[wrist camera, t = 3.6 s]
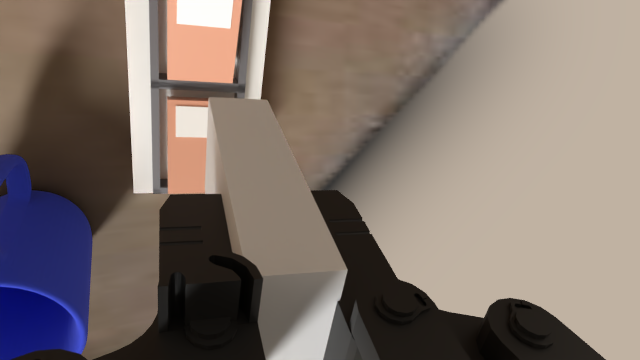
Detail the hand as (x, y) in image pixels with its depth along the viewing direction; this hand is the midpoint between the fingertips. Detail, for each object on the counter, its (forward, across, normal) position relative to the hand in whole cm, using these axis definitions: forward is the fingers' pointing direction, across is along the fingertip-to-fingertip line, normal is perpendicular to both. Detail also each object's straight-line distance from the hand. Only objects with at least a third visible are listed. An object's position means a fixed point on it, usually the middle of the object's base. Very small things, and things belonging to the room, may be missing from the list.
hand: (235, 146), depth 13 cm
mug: (+19, -10, -14) cm, 25 cm away
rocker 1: (+13, 0, 0) cm, 13 cm away
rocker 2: (+13, 0, -6) cm, 14 cm away
